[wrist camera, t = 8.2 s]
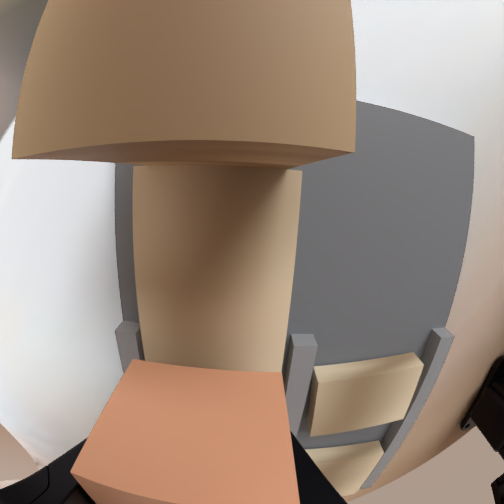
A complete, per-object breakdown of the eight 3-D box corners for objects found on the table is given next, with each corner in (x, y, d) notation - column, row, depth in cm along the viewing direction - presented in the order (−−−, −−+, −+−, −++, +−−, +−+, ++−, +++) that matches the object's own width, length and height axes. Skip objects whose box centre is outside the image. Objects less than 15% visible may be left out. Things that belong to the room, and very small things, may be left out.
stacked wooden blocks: (300, 96, 8) (378, -23, 2) (267, 434, 11) (273, 548, 5) (151, 94, 7) (30, 8, 2) (167, 426, 11) (137, 533, 5)
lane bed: (459, 138, 9) (486, 135, 7) (364, 467, 14) (370, 487, 12) (133, 100, 8) (111, 87, 7) (167, 468, 13) (162, 489, 12)
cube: (281, 372, 8) (300, 508, 3) (267, 455, 9) (272, 552, 4) (133, 358, 8) (69, 471, 3) (153, 443, 9) (127, 534, 4)
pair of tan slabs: (419, 351, 10) (430, 363, 9) (352, 482, 13) (355, 493, 12) (315, 358, 10) (320, 374, 9) (279, 490, 13) (280, 502, 12)
